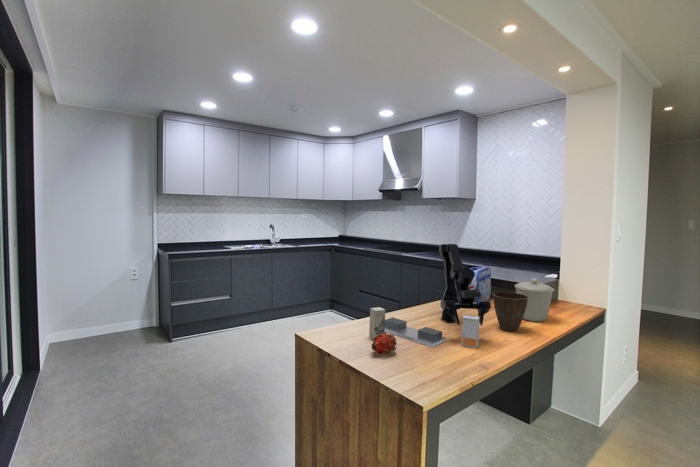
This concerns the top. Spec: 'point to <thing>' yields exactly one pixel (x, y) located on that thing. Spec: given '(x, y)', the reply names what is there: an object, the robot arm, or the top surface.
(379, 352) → the dragon fruit
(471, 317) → the skincare box
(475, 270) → the lunch box
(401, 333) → the rail plate
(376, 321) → the box
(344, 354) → the top surface
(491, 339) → the top surface
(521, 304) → the plant pot
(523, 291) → the canister
